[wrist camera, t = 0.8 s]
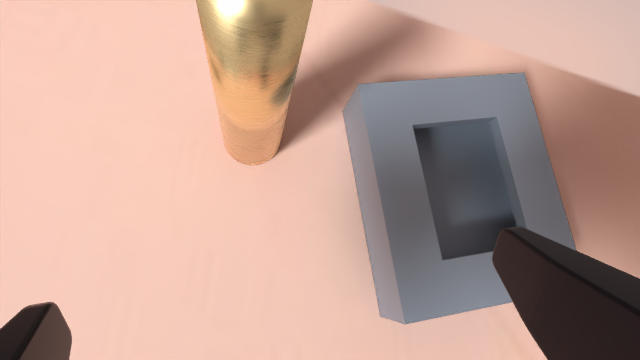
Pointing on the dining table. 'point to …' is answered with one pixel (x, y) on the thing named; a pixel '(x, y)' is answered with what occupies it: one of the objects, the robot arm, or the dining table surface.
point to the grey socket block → (448, 187)
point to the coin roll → (253, 69)
